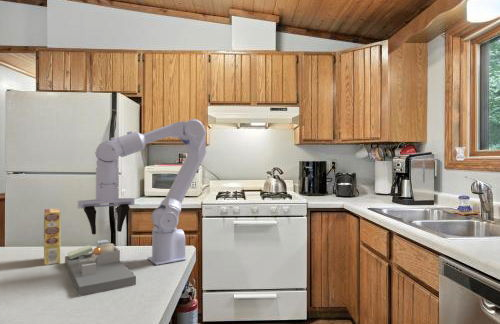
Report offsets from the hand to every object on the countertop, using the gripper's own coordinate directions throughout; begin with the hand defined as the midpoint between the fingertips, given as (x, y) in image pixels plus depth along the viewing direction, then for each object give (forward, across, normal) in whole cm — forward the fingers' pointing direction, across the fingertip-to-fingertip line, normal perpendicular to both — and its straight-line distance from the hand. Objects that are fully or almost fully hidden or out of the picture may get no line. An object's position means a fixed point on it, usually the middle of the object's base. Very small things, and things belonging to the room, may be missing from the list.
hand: (106, 232), depth 90 cm
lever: (+7, +6, +8) cm, 12 cm away
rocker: (+6, +6, -8) cm, 12 cm away
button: (+6, 0, 0) cm, 6 cm away
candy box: (+10, +12, -17) cm, 23 cm away
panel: (+10, +3, +3) cm, 11 cm away
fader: (+8, -1, -8) cm, 11 cm away
